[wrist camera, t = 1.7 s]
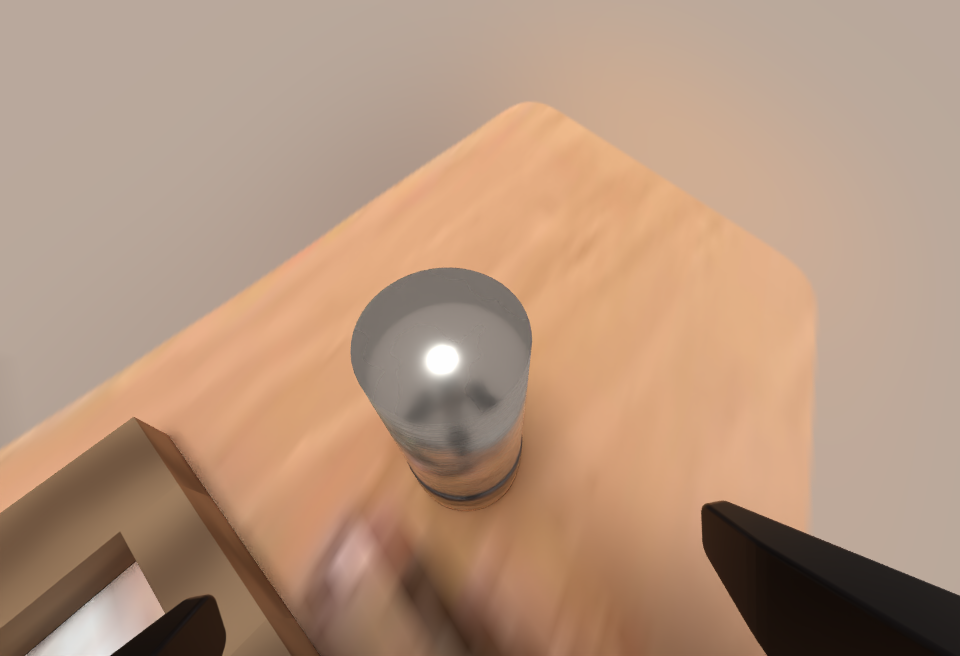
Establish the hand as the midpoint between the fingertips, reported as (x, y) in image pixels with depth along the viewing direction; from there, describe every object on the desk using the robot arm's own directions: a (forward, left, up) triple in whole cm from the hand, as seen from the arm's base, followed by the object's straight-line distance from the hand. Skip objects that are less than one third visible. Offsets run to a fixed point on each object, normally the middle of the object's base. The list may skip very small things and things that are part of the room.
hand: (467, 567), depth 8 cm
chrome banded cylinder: (+6, -2, -12) cm, 14 cm away
